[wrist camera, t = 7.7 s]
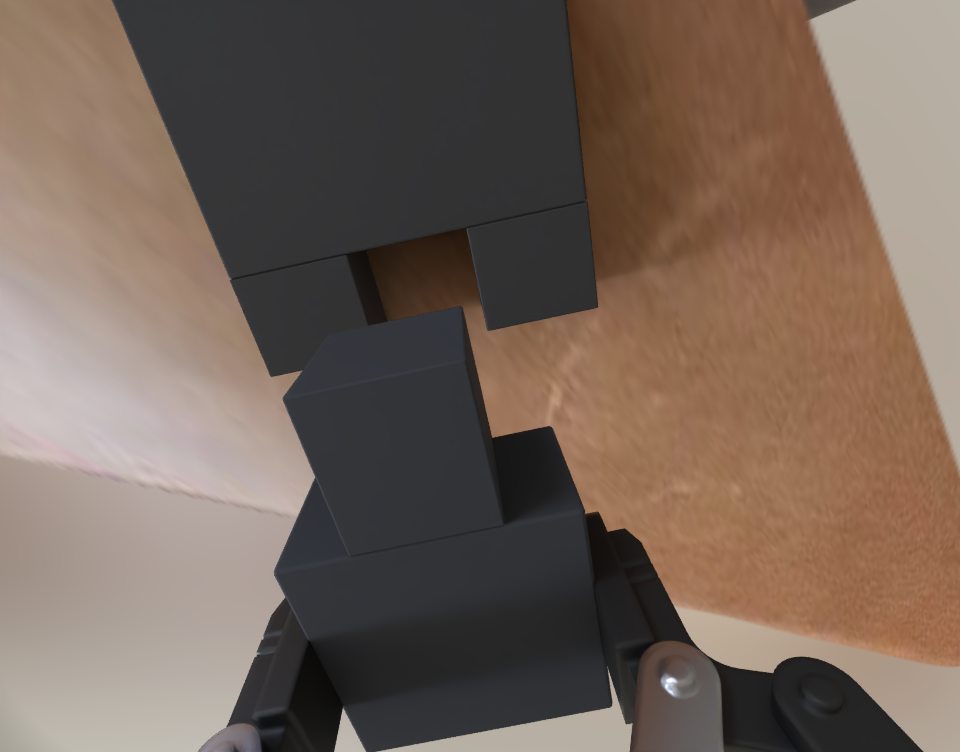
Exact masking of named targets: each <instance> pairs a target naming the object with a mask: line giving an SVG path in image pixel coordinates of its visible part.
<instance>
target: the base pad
mask: <svg viewBox="0 0 960 752" xmlns="http://www.w3.org/2000/svg"><path fill="white" fill-rule="evenodd" d="M112 2H113V4H114V6H115V9H116V11H117V13H118V16H119V18H120V21H121V23H122V25H123V28H124V30H125V32H126V35H127V37H128V39H129V42H130V44H131V47H132V49H133V51H134V54H135V56H136V58H137V61H138V63H139V65H140V68H141V70H142V73H143V75H144V77H145V80H146V82H147V84H148V87H149V89H150V91H151V94H152V96H153V98H154V101H155V103H156V106H157V108H158V110H159V113H160V115H161V117H162V120H163V122H164V124H165V127H166V129H167V132H168V134H169V136H170V139H171V141H172V143H173V146H174V148H175V150H176V153H177V155H178V157H179V160H180V162H181V165H182V167H183V169H184V172H185V174H186V176H187V179H188V181H189V183H190V186H191V188H192V191H193V193H194V195H195V198H196V200H197V202H198V205H199V207H200V209H201V212H202V214H203V216H204V219H205V221H206V224H207V226H208V228H209V231H210V233H211V235H212V238H213V240H214V242H215V245H216V247H217V250H218V252H219V254H220V257H221V259H222V261H223V264H224V266H225V268H226V271H227V273H228V276H229V277H230V278H231V280H230V282H231V284H232V287H233V289H234V291H235V294H236V296H237V298H238V301H239V303H240V305H241V308H242V310H243V312H244V315H245V317H246V320H247V322H248V324H249V327H250V329H251V331H252V334H253V336H254V338H255V341H256V343H257V346H258V348H259V350H260V353H261V355H262V357H263V360H264V362H265V364H266V367H267V369H268V371H269V374H270V376H271V377H273V376H278V375H283V374H288V373H292V372H297V371H302V370H304V368H305V367H306V366H307V364H308V363H309V362H310V360H311V359H312V358H313V356H314V355H315V353H316V352H317V351H318V349H319V348H320V347H321V345H322V344H323V343H324V341H325V340H326V339H327V337H328V336H329V335H330V334H333V333H338V332H343V331H347V330H352V329H356V328H361V327H366V326H370V325H375V324H380V323H384V322H387V319H386V316H385V313H384V309H383V306H382V302H381V299H380V296H379V292H378V289H377V286H376V282H375V279H374V276H373V272H372V269H371V265H370V262H369V259H368V255H367V252H366V250H368V249H372V248H377V247H381V246H386V245H390V244H395V243H399V242H404V241H409V240H413V239H418V238H422V237H427V236H431V235H436V234H441V233H445V232H450V231H454V230H459V229H463V228H466V231H467V236H468V241H469V245H470V250H471V255H472V260H473V265H474V269H475V274H476V279H477V284H478V289H479V294H480V298H481V303H482V308H483V312H484V317H485V321H486V326H487V330H488V331H490V330H495V329H500V328H504V327H509V326H514V325H518V324H523V323H528V322H533V321H537V320H542V319H547V318H551V317H556V316H561V315H566V314H570V313H575V312H580V311H584V310H589V309H594V308H597V307H598V299H597V290H596V280H595V270H594V261H593V251H592V241H591V232H590V222H589V212H588V203H587V202H585V201H586V199H587V196H586V187H585V177H584V167H583V158H582V148H581V138H580V129H579V119H578V109H577V100H576V90H575V80H574V71H573V61H572V51H571V42H570V32H569V23H568V13H567V3H566V0H112Z"/></svg>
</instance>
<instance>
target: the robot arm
mask: <svg viewBox="0 0 960 752" xmlns="http://www.w3.org/2000/svg"><path fill="white" fill-rule="evenodd" d="M585 515H586V522H587V529H588V536H589V543H590V550H591V557H592V564H593V571H594V577H595V583H594V590H595V596H596V603H597V610H598V617H599V624H600V631H601V638H602V644H603V651H604V657H605V660H606V663H607V666H608V669H609V673H610V676H611V679H612V682H613V685H614V688H615V691H616V694H617V698H618V701H619V704H620V707H621V710H622V714H623V717H624V720H625V723H626V724H631V723H633V725H632V735H631V744H630V752H923V751H922V750H921V749H920V748H919V747H918V746H917V745H916V744H915V743H914V742H913V740H912V739H911V738H910V737H909V736H908V735H907V734H906V733H905V732H904V731H903V730H902V729H901V728H900V727H899V726H898V725H897V724H896V723H895V722H894V721H893V720H892V719H891V718H890V717H889V716H888V715H887V714H886V712H885V711H884V710H882V708H881V707H880V706H879V705H878V704H877V703H876V702H875V701H874V700H873V699H872V698H871V697H870V696H869V695H868V694H867V693H866V692H865V691H864V690H863V689H862V688H861V686H860V685H858V683H857V682H855V681H854V680H853V679H852V678H851V677H850V676H849V675H847V674H846V673H845V672H844V671H842V670H840V669H839V668H837V667H835V666H834V665H832V664H829V663H827V662H825V661H822V660H819V659H814V658H810V657H793V658H789V659H786V660H785V661H782V662H781V663H780V664H779V665H778V666H777V667H776V669H775V670H774V673H767V672H759V671H752V670H745V669H738V668H733V667H730V666H727V665H724V664H721V663H719V662H717V661H715V660H714V659H712V658H710V657H709V656H707V655H706V654H705V653H703V652H702V651H701V650H700V649H699V648H698V647H697V646H696V645H695V644H694V642H693V641H692V640H691V638H690V637H689V635H688V633H687V631H686V629H685V627H684V625H683V623H682V621H681V619H680V617H679V616H678V613H677V611H676V610H675V608H674V606H673V604H672V602H671V600H670V598H669V596H668V594H667V592H666V590H665V588H664V586H663V584H662V582H661V580H660V578H658V574H657V572H656V571H655V569H654V567H653V565H652V563H651V562H650V559H649V557H648V555H647V553H646V551H645V549H644V547H643V545H642V543H641V542H640V541H639V540H638V539H637V538H635V537H634V536H633V535H632V534H631V533H630V532H628V531H627V530H626V529H625V528H624V529H619V530H614V531H609V532H607V530H606V527H605V525H604V523H603V520H602V518H601V516H600V514H599V512H593V513H588V514H585ZM342 709H343V704H342V702H341V700H340V699H339V697H338V695H337V693H336V691H335V689H334V687H333V685H332V683H331V681H330V679H329V677H328V675H327V673H326V672H325V670H324V668H323V666H322V664H321V662H320V660H319V658H318V656H317V654H316V652H315V650H314V648H313V647H312V645H311V643H310V641H309V640H308V639H307V637H306V635H305V633H304V631H303V629H302V628H301V626H300V624H299V622H298V620H297V618H296V616H295V614H294V612H293V610H292V608H291V606H290V604H289V603H288V601H287V599H286V597H285V599H284V600H283V601H282V602H281V604H280V605H279V606H278V608H277V609H276V610H275V612H274V613H273V614H272V616H271V618H270V621H269V623H268V626H267V628H266V630H265V633H264V639H263V640H261V643H260V645H259V648H258V650H257V657H255V658H254V661H253V663H252V665H251V668H250V670H249V673H248V675H247V678H246V680H245V683H244V685H243V688H242V690H241V693H240V696H239V698H238V700H237V703H236V706H235V708H234V710H233V713H232V715H231V718H230V720H229V723H228V725H227V727H226V728H225V729H223V730H221V731H219V732H218V733H216V734H215V735H214V736H213V737H211V738H210V739H209V740H208V741H207V742H206V743H205V744H204V745H203V746H202V747H201V748H200V749H199V751H198V752H334V749H335V745H336V740H337V734H338V730H339V724H340V720H341V714H342Z"/></svg>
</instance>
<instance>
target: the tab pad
mask: <svg viewBox="0 0 960 752" xmlns="http://www.w3.org/2000/svg"><path fill="white" fill-rule="evenodd" d="M283 402H284V404H285V406H286V409H287V411H288V414H289V416H290V418H291V421H292V423H293V425H294V428H295V430H296V432H297V435H298V437H299V440H300V442H301V444H302V447H303V449H304V451H305V454H306V456H307V458H308V461H309V463H310V466H311V468H312V470H313V473H314V475H315V479H314V481H313V483H312V486H311V488H310V490H309V493H308V495H307V497H306V499H305V502H304V504H303V506H302V508H301V511H300V513H299V515H298V517H297V520H296V522H295V524H294V527H293V529H292V531H291V533H290V536H289V538H288V540H287V543H286V545H285V547H284V549H283V552H282V554H281V556H280V558H279V561H278V563H277V565H276V567H275V570H274V576H275V578H276V580H277V581H278V583H279V585H280V587H281V589H282V591H283V593H284V595H285V597H286V599H287V601H288V603H289V604H290V606H291V608H292V610H293V612H294V614H295V616H296V618H297V620H298V622H299V624H300V626H301V628H302V629H303V631H304V633H305V635H306V637H307V639H308V640H309V641H310V643H311V645H312V647H313V648H314V650H315V652H316V654H317V656H318V658H319V660H320V662H321V664H322V666H323V668H324V670H325V672H326V673H327V675H328V677H329V679H330V681H331V683H332V685H333V687H334V689H335V691H336V693H337V695H338V697H339V699H340V700H341V702H342V704H343V708H344V710H345V712H346V714H347V716H348V718H349V719H350V722H351V723H352V726H353V727H354V729H355V731H356V733H357V735H358V737H359V739H360V741H361V743H362V745H363V747H364V748H365V750H366V752H377V751H382V750H387V749H392V748H397V747H403V746H409V745H414V744H419V743H424V742H429V741H435V740H440V739H446V738H451V737H456V736H461V735H467V734H472V733H478V732H483V731H488V730H493V729H499V728H504V727H509V726H515V725H520V724H525V723H531V722H535V721H541V720H546V719H552V718H557V717H562V716H567V715H573V714H578V713H584V712H589V711H594V710H600V709H605V708H610V707H611V706H612V696H611V690H610V682H609V676H608V668H607V663H606V660H605V657H604V651H603V644H602V638H601V631H600V624H599V617H598V610H597V603H596V596H595V590H594V583H595V577H594V571H593V564H592V557H591V550H590V543H589V536H588V529H587V522H586V515H585V509H584V507H583V504H582V502H581V499H580V497H579V494H578V492H577V489H576V487H575V484H574V481H573V479H572V476H571V474H570V471H569V469H568V466H567V464H566V461H565V459H564V456H563V454H562V451H561V448H560V446H559V443H558V441H557V438H556V436H555V433H554V431H553V429H552V427H551V426H547V427H542V428H537V429H533V430H528V431H523V432H518V433H513V434H508V435H504V436H499V437H494V438H492V435H491V431H490V426H489V422H488V417H487V413H486V409H485V404H484V400H483V395H482V391H481V387H480V382H479V378H478V373H477V369H476V365H475V360H474V356H473V351H472V347H471V343H470V338H469V334H468V329H467V325H466V321H465V316H464V312H463V308H462V306H458V307H454V308H449V309H444V310H440V311H435V312H430V313H426V314H421V315H417V316H412V317H407V318H403V319H398V320H393V321H389V322H384V323H380V324H375V325H370V326H366V327H361V328H356V329H352V330H347V331H343V332H338V333H333V334H330V335H329V336H328V337H327V339H326V340H325V341H324V343H323V344H322V345H321V347H320V348H319V349H318V351H317V352H316V353H315V355H314V356H313V358H312V359H311V360H310V362H309V363H308V364H307V366H306V367H305V368H304V370H303V371H302V372H301V374H300V375H299V377H298V378H297V379H296V381H295V382H294V383H293V385H292V386H291V387H290V389H289V390H288V391H287V393H286V394H285V395H284V397H283Z"/></svg>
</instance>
